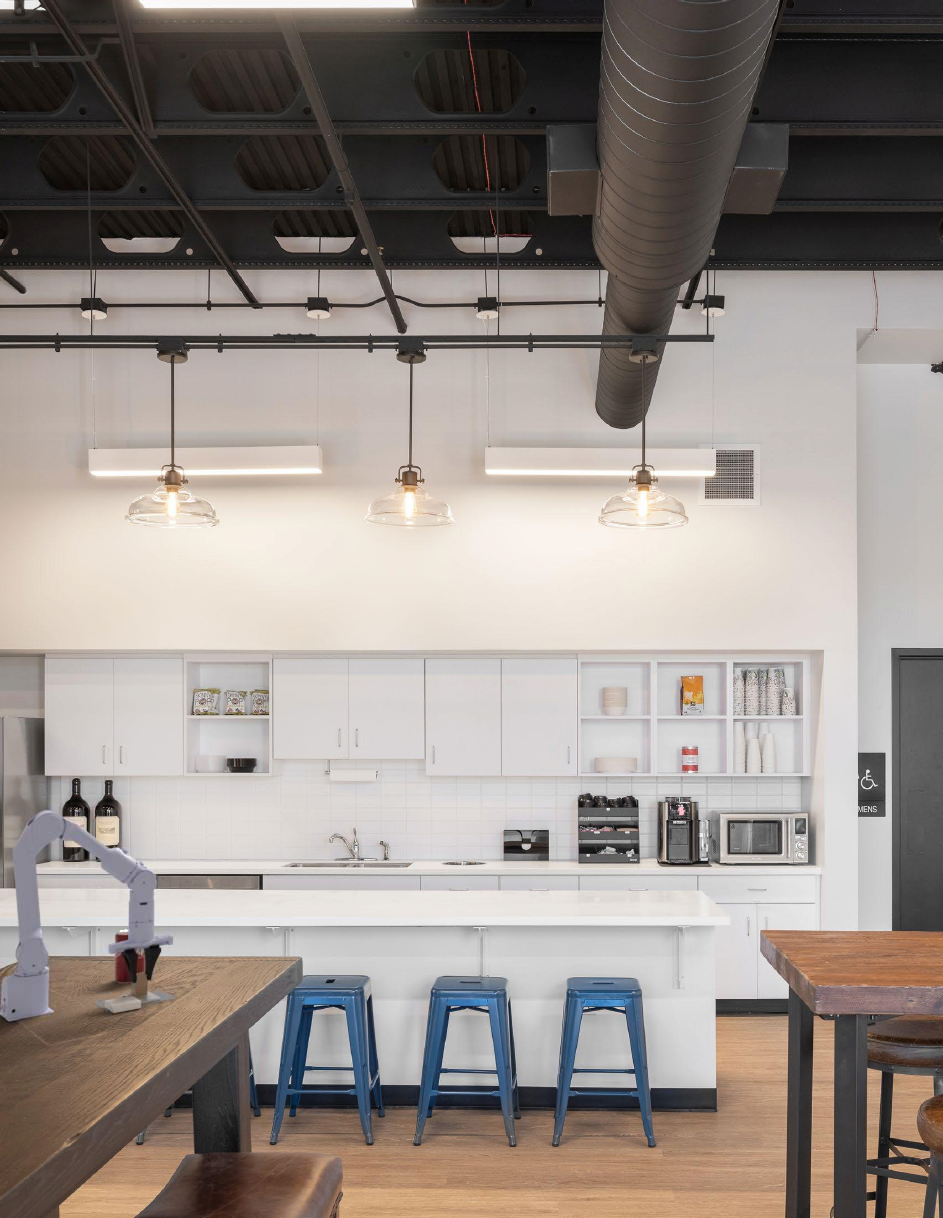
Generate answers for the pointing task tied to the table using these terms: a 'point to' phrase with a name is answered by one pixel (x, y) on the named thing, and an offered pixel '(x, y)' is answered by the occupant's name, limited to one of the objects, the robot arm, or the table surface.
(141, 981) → the trowel
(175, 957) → the table surface
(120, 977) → the soda can
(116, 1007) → the tile
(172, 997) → the mat
